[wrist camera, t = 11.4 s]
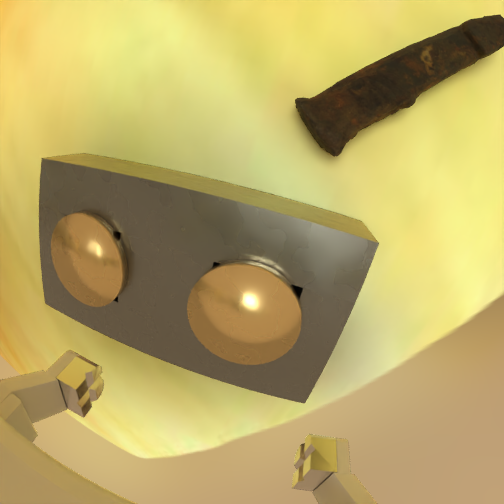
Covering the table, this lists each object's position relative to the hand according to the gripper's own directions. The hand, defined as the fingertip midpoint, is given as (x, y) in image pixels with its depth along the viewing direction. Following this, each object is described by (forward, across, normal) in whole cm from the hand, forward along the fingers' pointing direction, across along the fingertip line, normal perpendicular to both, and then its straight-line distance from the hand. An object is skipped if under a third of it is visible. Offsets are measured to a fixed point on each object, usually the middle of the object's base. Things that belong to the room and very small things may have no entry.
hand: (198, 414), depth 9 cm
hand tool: (+13, -7, -18) cm, 23 cm away
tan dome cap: (+12, 0, 0) cm, 12 cm away
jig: (+13, +5, 0) cm, 14 cm away
